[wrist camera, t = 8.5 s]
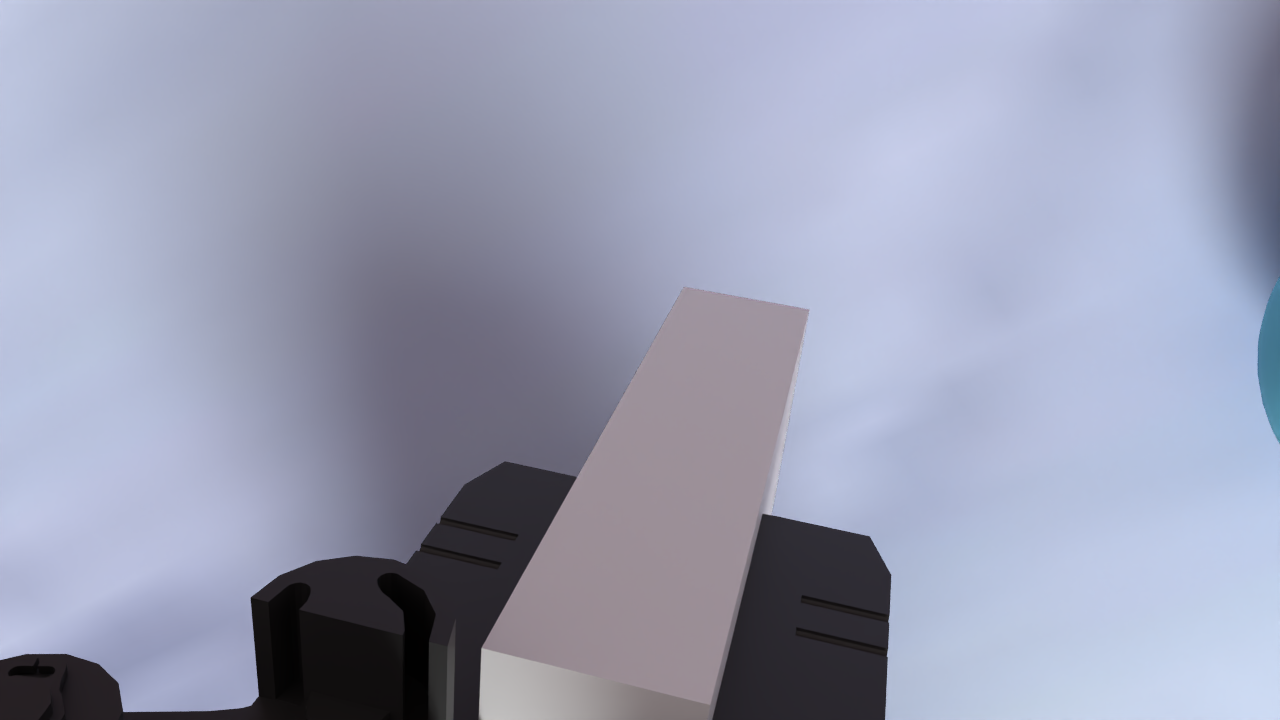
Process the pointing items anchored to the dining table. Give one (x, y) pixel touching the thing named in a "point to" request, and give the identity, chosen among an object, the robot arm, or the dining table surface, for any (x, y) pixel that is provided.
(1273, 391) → the ball
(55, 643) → the dining table surface
